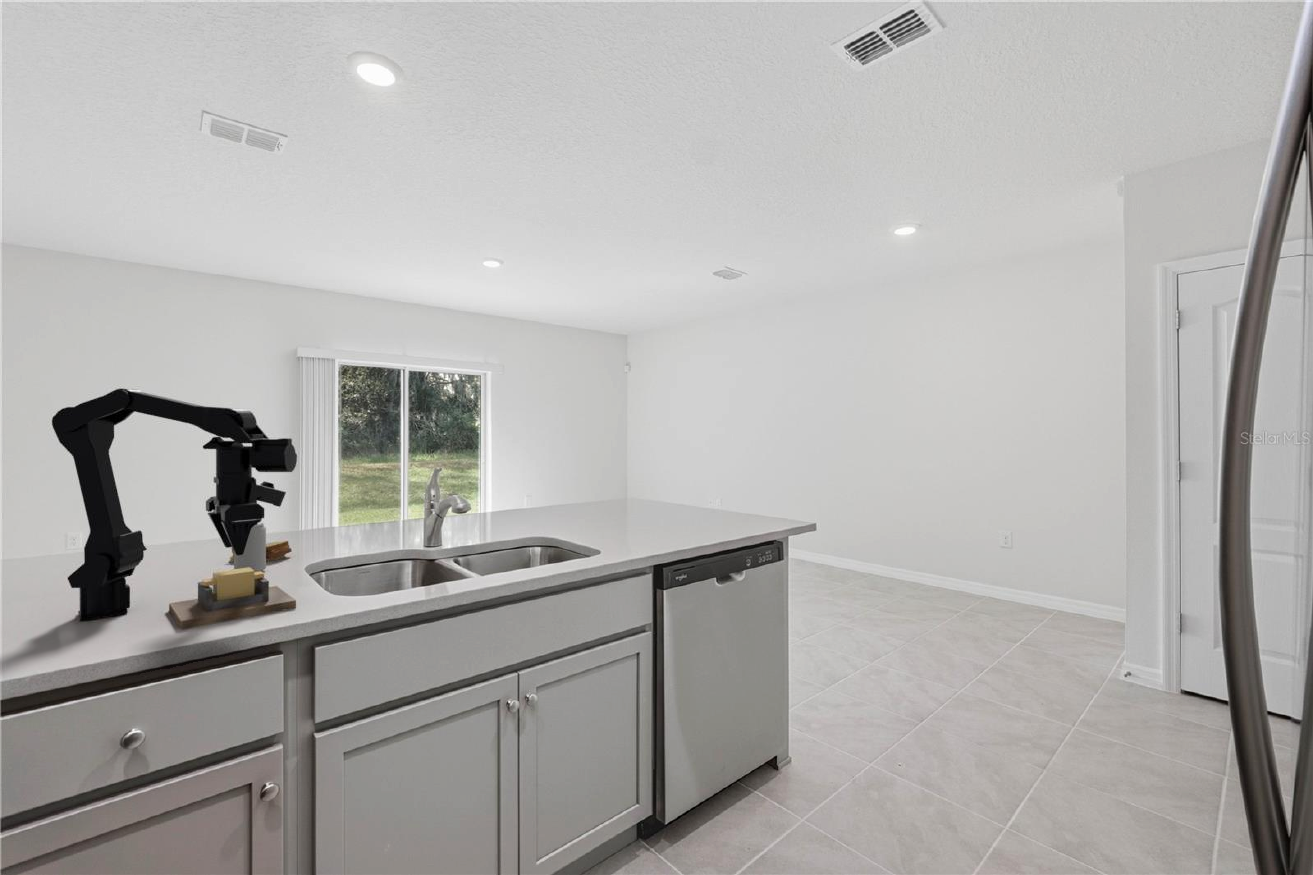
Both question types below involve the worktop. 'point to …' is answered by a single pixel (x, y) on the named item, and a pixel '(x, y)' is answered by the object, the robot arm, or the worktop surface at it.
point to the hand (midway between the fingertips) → (234, 551)
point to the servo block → (233, 583)
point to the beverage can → (253, 550)
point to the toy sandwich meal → (273, 550)
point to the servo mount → (229, 605)
